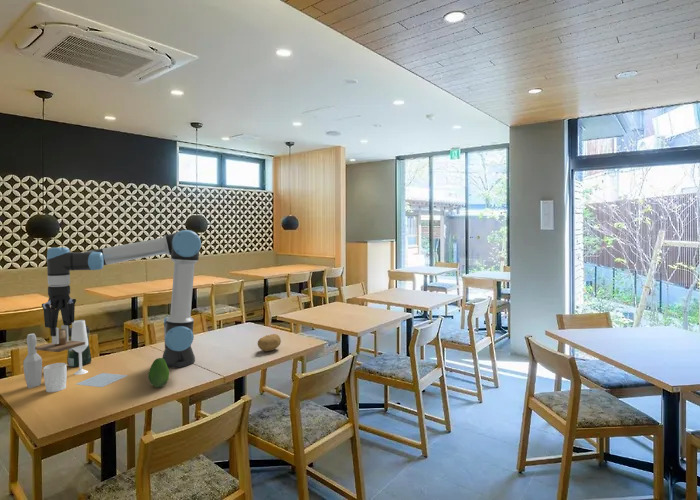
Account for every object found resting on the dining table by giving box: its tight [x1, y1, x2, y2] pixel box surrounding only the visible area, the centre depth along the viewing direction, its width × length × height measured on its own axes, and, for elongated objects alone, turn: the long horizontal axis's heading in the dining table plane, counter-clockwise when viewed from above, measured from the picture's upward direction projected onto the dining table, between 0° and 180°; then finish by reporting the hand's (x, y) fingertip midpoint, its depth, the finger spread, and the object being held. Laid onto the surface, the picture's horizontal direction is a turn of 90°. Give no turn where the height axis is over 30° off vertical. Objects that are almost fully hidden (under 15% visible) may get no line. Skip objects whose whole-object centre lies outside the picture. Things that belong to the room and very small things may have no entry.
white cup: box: [42, 362, 68, 393], centre depth 172 cm, size 8×8×10 cm
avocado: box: [147, 357, 170, 388], centre depth 174 cm, size 8×8×12 cm
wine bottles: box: [66, 325, 92, 368], centre depth 203 cm, size 10×8×19 cm
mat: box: [76, 372, 128, 388], centre depth 182 cm, size 14×14×1 cm
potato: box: [257, 333, 282, 352], centre depth 223 cm, size 10×14×8 cm
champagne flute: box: [71, 319, 89, 376], centre depth 190 cm, size 7×7×24 cm
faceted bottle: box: [22, 333, 43, 389], centre depth 176 cm, size 6×6×22 cm
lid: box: [35, 328, 85, 353], centre depth 172 cm, size 12×12×7 cm
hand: (60, 342), depth 172 cm, fingers closed on lid, 4 cm apart
